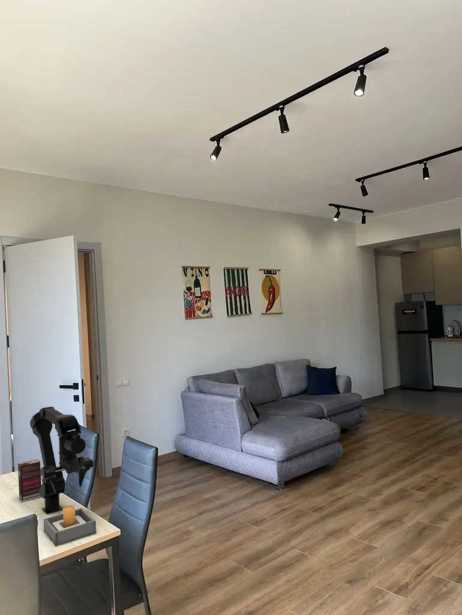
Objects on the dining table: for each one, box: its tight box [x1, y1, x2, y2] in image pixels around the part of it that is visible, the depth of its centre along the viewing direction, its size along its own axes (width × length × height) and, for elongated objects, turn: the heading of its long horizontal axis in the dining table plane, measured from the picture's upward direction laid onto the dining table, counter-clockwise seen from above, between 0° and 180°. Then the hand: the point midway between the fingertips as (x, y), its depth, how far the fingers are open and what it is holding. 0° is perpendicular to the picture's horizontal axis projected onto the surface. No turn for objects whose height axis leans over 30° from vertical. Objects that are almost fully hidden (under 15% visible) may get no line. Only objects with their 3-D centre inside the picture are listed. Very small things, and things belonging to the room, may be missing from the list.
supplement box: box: [17, 459, 42, 503], centre depth 198 cm, size 9×5×16 cm, turn 128°
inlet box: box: [43, 507, 97, 547], centre depth 163 cm, size 15×14×4 cm
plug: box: [62, 505, 76, 528], centre depth 163 cm, size 4×4×8 cm
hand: (68, 489), depth 173 cm, fingers open, 9 cm apart
